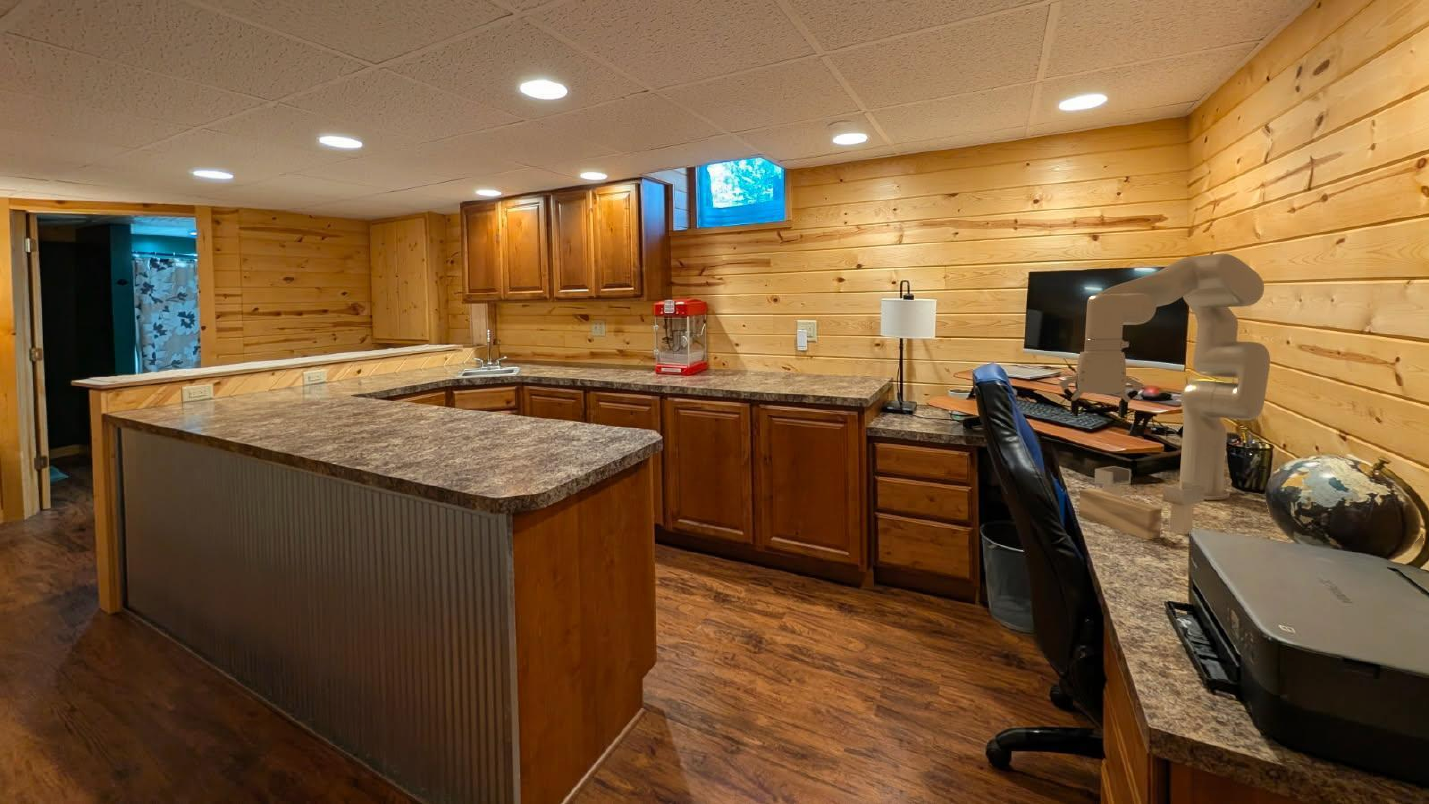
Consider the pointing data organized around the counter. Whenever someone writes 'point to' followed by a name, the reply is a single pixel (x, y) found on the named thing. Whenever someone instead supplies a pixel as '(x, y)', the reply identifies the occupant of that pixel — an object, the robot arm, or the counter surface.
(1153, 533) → the rail
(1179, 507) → the bracket stand
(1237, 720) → the counter surface
